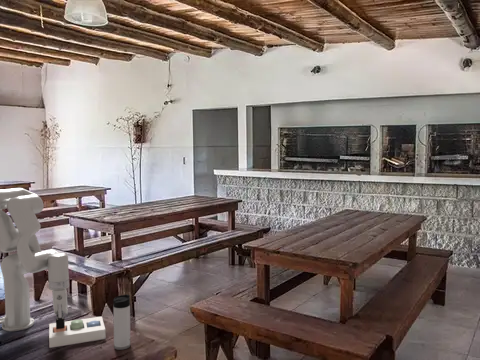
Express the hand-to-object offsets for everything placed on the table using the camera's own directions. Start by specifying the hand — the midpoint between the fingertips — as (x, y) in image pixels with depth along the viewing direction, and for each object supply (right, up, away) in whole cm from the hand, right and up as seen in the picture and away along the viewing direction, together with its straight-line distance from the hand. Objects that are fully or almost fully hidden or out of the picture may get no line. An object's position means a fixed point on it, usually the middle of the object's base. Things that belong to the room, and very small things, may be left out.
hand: (60, 327), depth 178 cm
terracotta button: (0, -4, +1) cm, 4 cm away
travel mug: (+27, -6, -5) cm, 28 cm away
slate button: (+12, -4, +6) cm, 13 cm away
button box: (+6, -4, +3) cm, 8 cm away
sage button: (+6, -2, +3) cm, 7 cm away
